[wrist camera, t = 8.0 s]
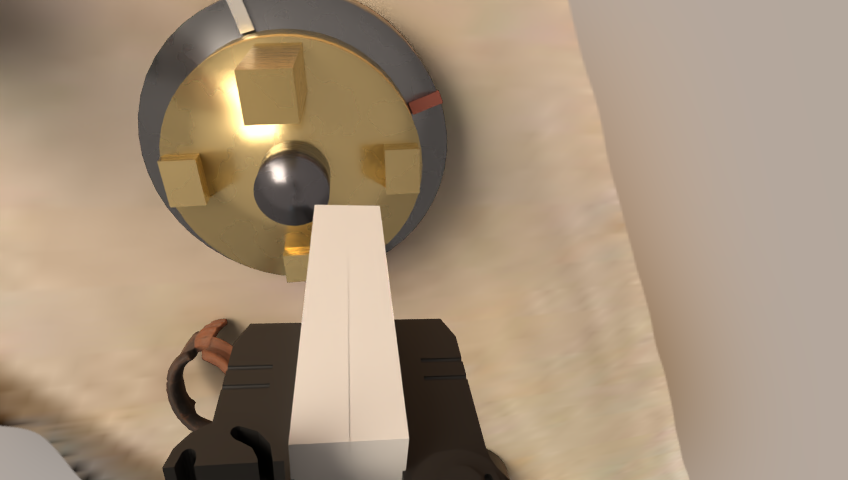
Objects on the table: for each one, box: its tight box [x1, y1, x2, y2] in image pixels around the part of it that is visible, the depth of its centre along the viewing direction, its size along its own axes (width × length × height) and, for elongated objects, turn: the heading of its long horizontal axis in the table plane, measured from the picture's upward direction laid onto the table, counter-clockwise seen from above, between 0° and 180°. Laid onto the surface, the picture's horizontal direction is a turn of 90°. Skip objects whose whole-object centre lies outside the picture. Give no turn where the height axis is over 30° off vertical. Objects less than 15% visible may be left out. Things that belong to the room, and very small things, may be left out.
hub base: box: [138, 0, 447, 264], centre depth 32 cm, size 19×19×9 cm
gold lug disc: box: [157, 29, 422, 282], centre depth 29 cm, size 15×15×9 cm
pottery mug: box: [166, 319, 233, 432], centre depth 43 cm, size 12×10×8 cm
